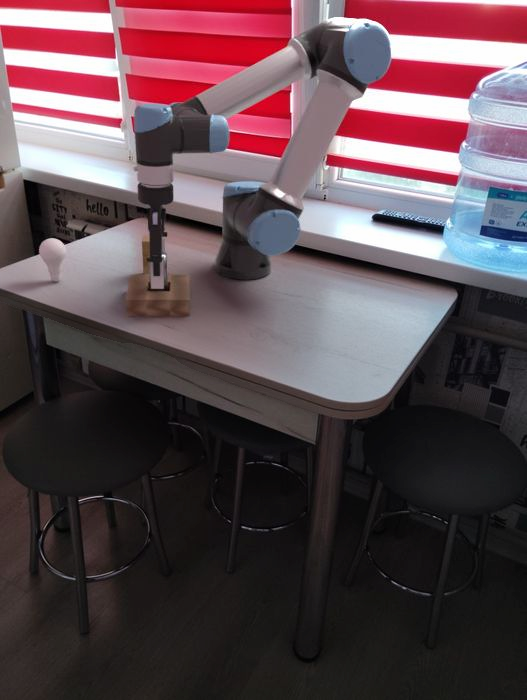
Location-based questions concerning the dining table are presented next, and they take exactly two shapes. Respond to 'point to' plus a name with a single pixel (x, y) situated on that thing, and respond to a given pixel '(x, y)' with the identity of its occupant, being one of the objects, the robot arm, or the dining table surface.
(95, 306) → the dining table surface
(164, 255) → the cylinder
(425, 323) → the dining table surface
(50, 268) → the lightbulb
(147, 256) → the square bit
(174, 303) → the socket block
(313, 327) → the dining table surface
